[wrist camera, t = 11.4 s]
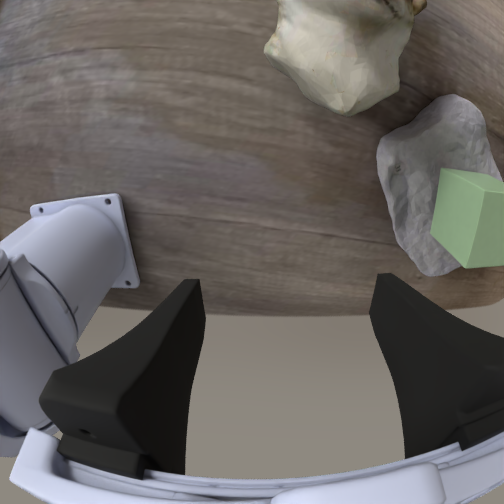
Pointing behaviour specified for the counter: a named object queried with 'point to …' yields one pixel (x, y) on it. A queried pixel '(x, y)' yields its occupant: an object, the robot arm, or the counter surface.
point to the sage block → (470, 217)
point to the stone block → (430, 173)
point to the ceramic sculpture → (342, 49)
